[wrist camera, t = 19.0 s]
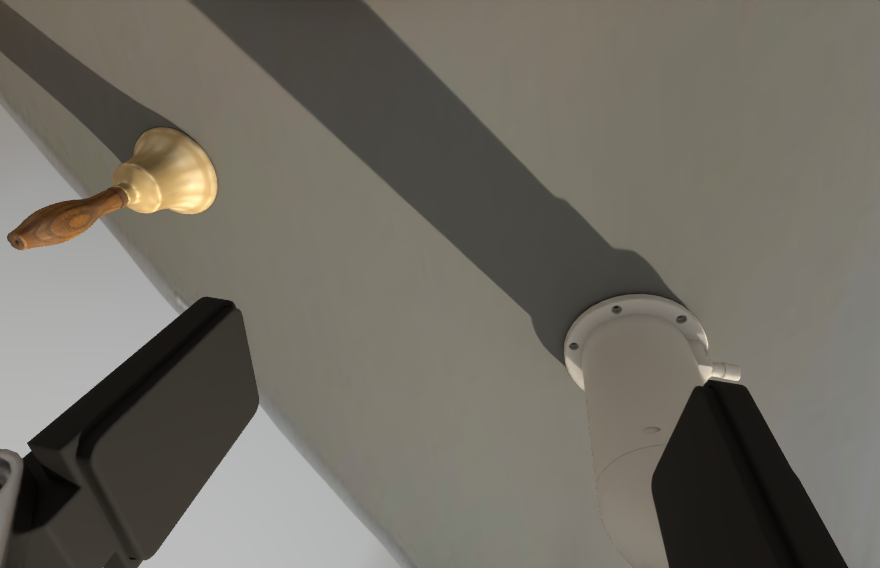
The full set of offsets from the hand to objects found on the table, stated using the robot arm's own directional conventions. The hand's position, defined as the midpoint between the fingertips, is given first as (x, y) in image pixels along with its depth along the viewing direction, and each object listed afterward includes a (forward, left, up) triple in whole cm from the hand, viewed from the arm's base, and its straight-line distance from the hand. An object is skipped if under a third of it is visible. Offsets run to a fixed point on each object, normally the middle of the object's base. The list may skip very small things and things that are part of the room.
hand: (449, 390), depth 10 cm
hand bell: (+31, +8, -31) cm, 44 cm away
